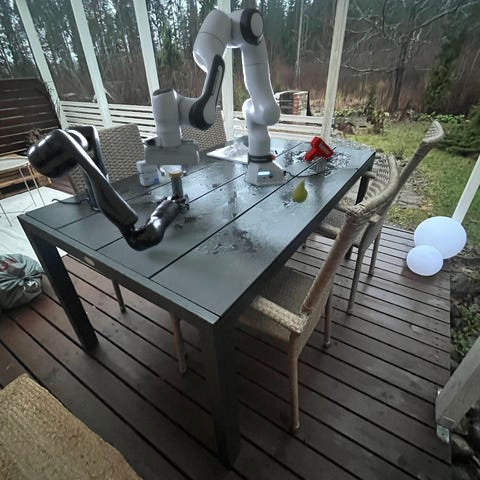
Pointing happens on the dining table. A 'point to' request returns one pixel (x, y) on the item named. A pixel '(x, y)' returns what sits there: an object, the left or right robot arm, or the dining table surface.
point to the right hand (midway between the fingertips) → (174, 175)
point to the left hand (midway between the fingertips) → (180, 195)
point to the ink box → (147, 173)
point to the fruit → (300, 192)
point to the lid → (175, 173)
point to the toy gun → (318, 150)
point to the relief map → (232, 153)
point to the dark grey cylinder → (177, 190)
